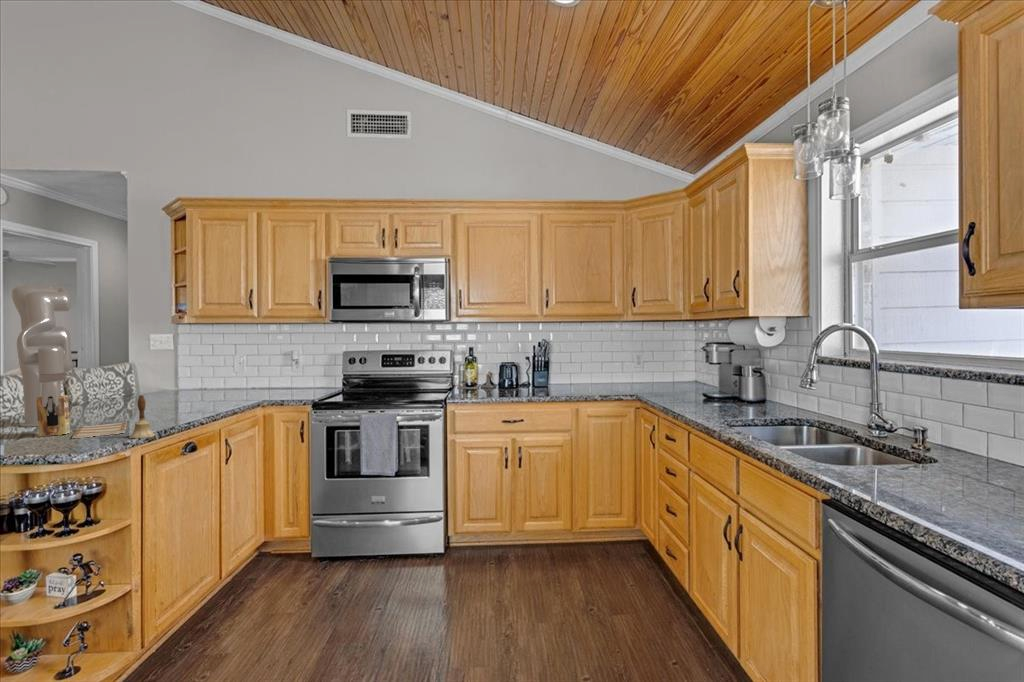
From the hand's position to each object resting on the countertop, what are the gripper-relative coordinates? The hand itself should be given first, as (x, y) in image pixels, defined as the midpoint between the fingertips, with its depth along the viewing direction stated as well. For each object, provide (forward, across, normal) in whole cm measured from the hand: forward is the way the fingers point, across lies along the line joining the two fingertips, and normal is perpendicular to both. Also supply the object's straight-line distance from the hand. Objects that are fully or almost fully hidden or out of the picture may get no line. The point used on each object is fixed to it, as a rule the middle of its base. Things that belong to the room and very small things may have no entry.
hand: (53, 424), depth 213 cm
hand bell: (+5, +24, +29) cm, 38 cm away
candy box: (+5, 0, 0) cm, 5 cm away
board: (+4, +3, +15) cm, 16 cm away
